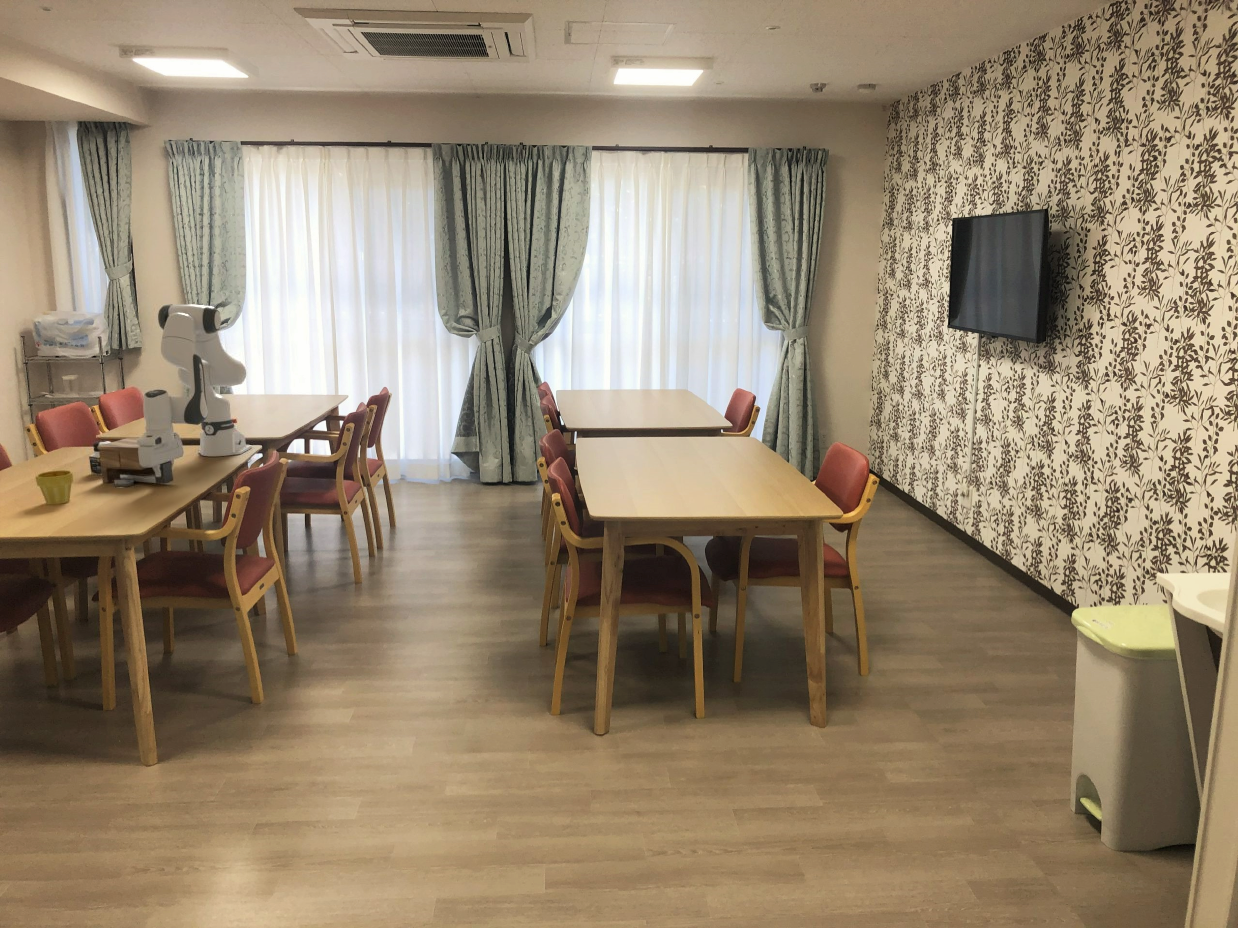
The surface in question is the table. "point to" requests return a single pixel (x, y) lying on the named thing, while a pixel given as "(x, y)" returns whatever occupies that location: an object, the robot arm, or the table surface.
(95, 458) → the medicine bottle
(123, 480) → the steel puck
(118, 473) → the cabinet
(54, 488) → the plant pot
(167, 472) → the grey mallet
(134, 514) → the table surface
